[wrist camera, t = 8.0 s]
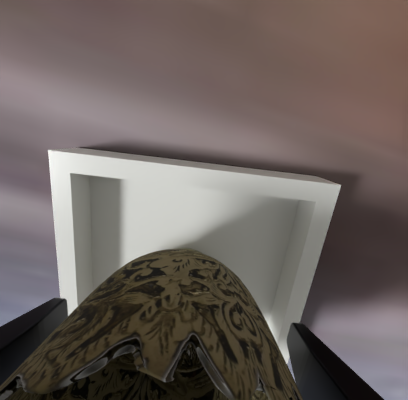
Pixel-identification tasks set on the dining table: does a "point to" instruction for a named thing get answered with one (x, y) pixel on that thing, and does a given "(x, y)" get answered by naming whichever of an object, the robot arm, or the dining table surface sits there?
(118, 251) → the white tray
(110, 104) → the dining table surface
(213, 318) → the brown hollow flared piece
